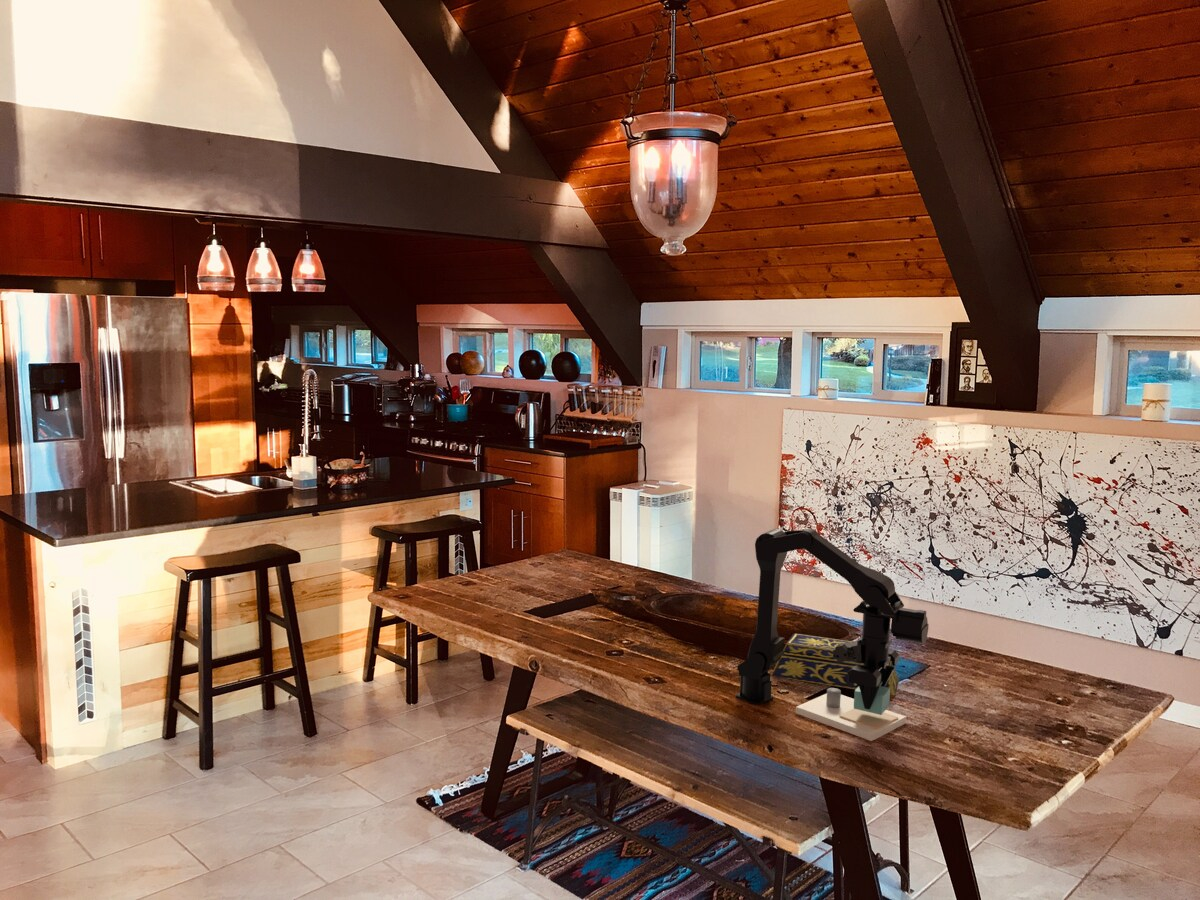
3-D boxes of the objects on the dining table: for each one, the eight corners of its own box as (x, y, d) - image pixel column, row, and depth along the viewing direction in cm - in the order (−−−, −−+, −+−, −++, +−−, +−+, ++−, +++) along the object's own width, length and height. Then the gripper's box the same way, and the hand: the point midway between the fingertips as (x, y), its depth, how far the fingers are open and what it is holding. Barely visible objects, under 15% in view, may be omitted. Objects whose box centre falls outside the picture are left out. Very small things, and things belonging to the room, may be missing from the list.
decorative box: (896, 697, 224) (898, 660, 223) (769, 677, 235) (771, 642, 234) (900, 681, 234) (902, 646, 233) (778, 663, 245) (780, 629, 244)
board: (795, 713, 213) (796, 691, 212) (831, 697, 222) (832, 676, 222) (871, 741, 199) (873, 718, 198) (905, 723, 209) (907, 701, 208)
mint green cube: (861, 699, 211) (862, 682, 210) (889, 705, 207) (890, 688, 207) (853, 708, 206) (854, 690, 205) (881, 714, 202) (882, 696, 202)
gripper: (851, 617, 216) (847, 682, 218) (825, 639, 201) (821, 709, 203) (901, 625, 211) (897, 693, 213) (878, 649, 195) (873, 722, 197)
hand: (871, 704), depth 206 cm, fingers closed on mint green cube, 6 cm apart
